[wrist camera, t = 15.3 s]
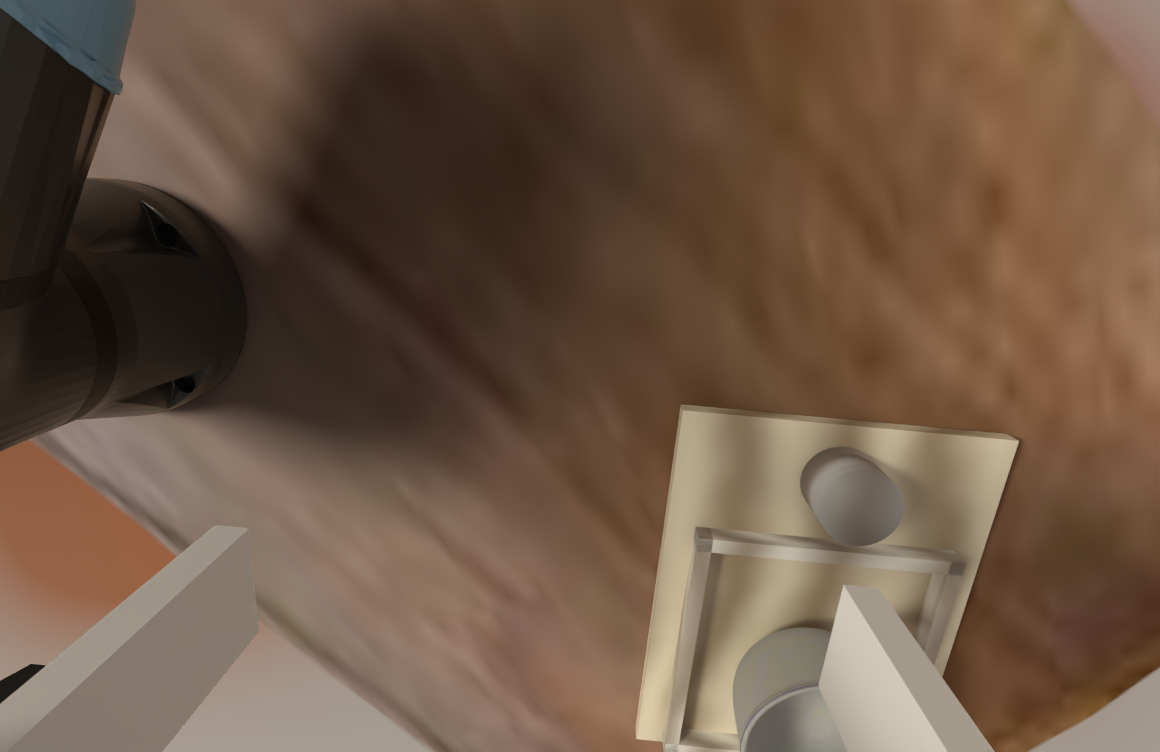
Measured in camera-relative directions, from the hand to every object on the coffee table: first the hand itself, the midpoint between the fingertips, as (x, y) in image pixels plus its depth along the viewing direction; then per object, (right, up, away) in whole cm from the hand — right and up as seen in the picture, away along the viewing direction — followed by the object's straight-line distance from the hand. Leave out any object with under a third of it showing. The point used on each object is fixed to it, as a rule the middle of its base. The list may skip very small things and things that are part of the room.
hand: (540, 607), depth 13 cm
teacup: (+18, -15, +31) cm, 39 cm away
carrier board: (+18, -11, +31) cm, 37 cm away
